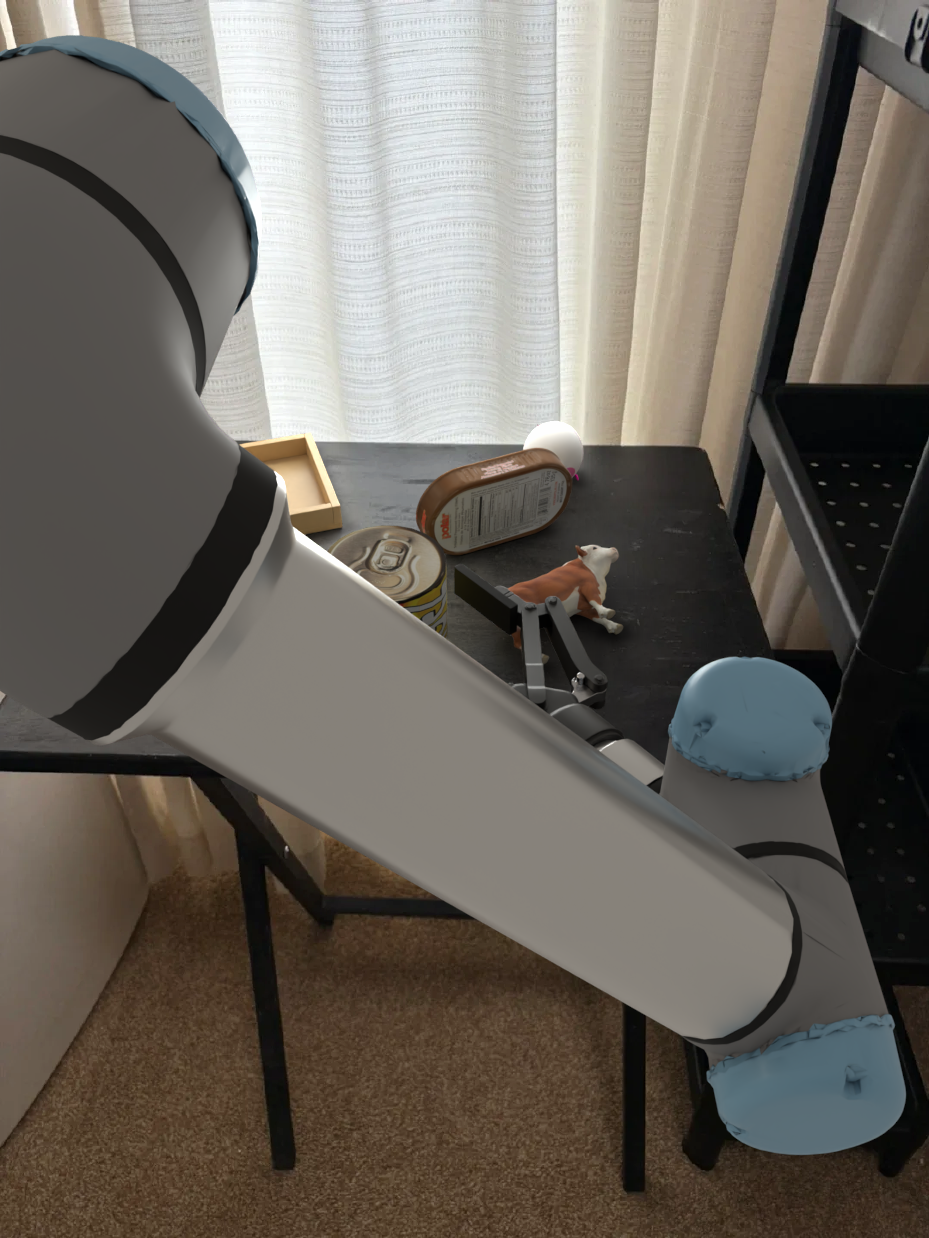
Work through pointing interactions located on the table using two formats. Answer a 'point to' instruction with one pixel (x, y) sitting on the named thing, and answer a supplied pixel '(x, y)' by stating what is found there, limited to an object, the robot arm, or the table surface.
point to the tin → (494, 500)
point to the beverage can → (400, 569)
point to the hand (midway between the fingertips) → (388, 615)
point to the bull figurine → (574, 588)
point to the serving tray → (301, 481)
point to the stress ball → (558, 443)
